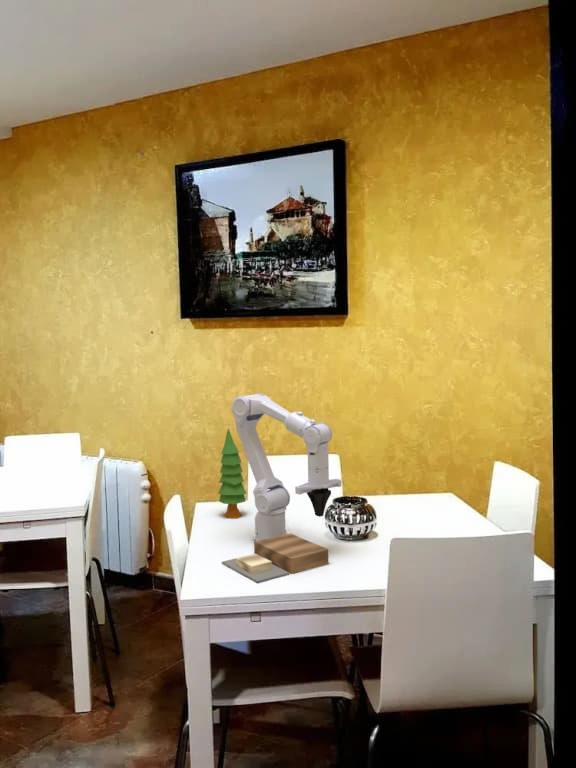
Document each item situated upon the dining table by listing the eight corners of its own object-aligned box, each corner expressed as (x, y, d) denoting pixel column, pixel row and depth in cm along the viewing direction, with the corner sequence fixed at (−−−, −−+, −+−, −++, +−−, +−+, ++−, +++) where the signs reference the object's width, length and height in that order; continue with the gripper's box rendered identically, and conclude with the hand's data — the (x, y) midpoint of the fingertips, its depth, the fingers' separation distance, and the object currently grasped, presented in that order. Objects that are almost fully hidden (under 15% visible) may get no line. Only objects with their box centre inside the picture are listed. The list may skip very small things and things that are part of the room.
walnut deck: (254, 555, 194) (254, 541, 194) (290, 546, 201) (289, 533, 201) (291, 573, 180) (291, 558, 179) (328, 563, 186) (328, 549, 186)
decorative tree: (216, 519, 232) (213, 429, 229) (222, 511, 241) (219, 424, 238) (245, 519, 230) (242, 429, 227) (250, 511, 239) (247, 424, 237)
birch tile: (255, 553, 188) (255, 560, 189) (236, 558, 185) (236, 565, 185) (271, 561, 182) (272, 569, 182) (252, 566, 178) (252, 574, 179)
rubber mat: (221, 563, 189) (221, 561, 189) (252, 556, 194) (252, 554, 194) (257, 583, 174) (257, 581, 174) (289, 574, 179) (289, 572, 179)
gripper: (305, 473, 186) (306, 523, 188) (347, 466, 195) (348, 514, 196) (290, 469, 192) (291, 517, 194) (332, 462, 200) (333, 508, 202)
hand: (319, 515), depth 195 cm, fingers closed
